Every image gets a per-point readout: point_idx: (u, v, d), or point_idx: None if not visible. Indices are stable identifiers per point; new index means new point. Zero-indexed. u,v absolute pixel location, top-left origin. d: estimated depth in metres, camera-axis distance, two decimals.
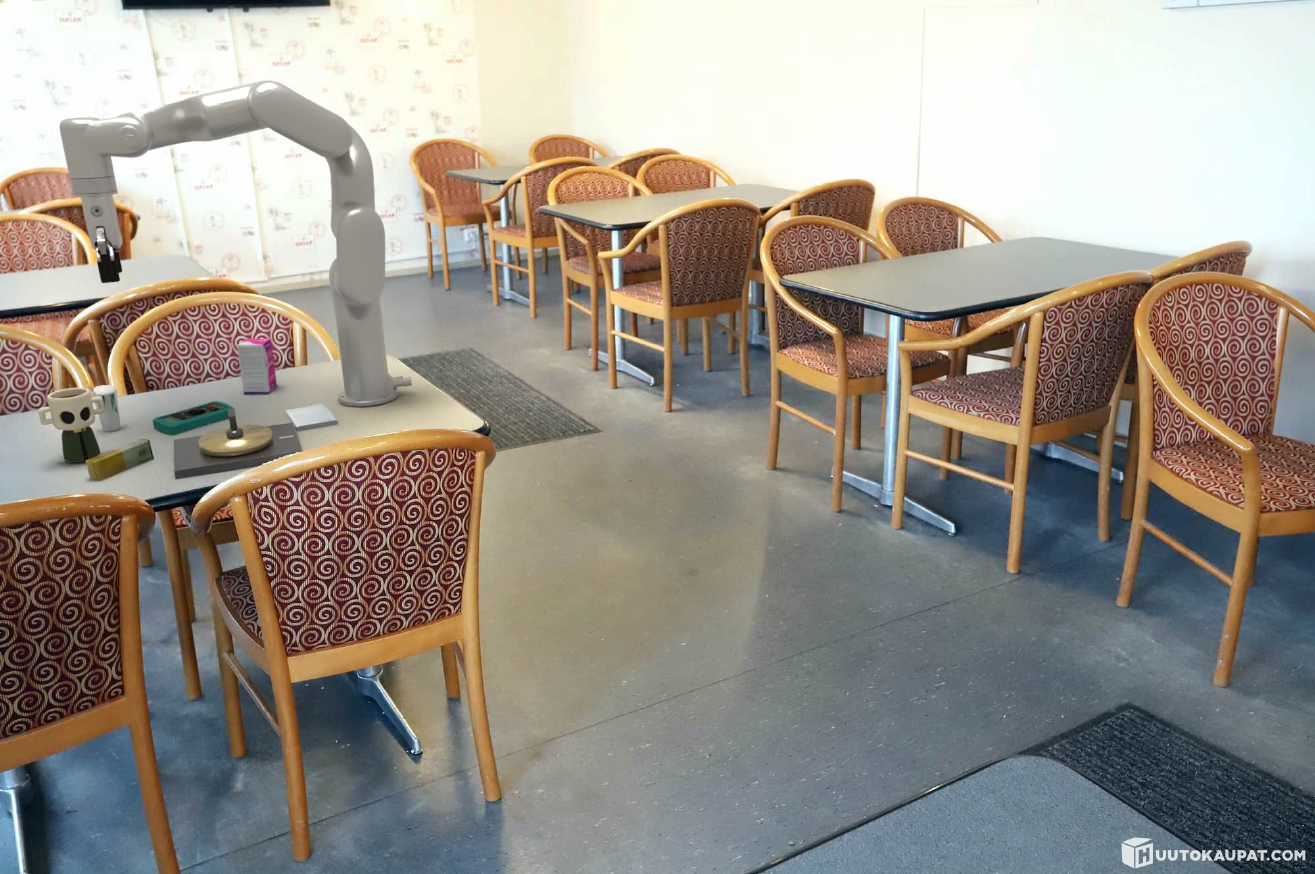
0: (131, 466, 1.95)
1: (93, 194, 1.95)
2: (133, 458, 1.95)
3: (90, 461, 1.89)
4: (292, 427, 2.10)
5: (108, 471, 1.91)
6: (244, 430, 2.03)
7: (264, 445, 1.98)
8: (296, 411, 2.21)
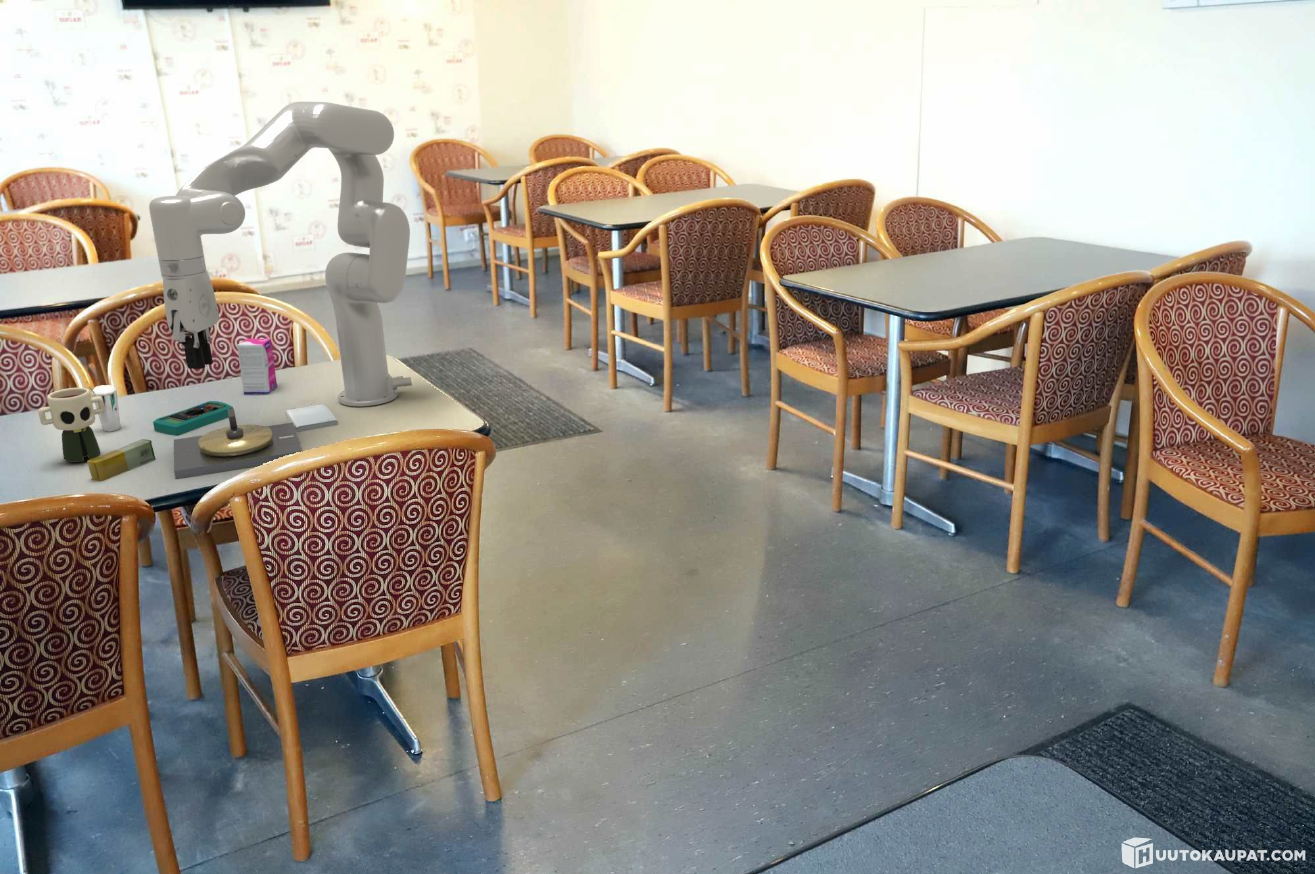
0: (133, 466, 1.95)
1: (172, 276, 1.86)
2: (134, 459, 1.95)
3: (92, 461, 1.88)
4: (292, 427, 2.10)
5: (110, 471, 1.91)
6: (244, 430, 2.03)
7: (264, 445, 1.98)
8: (296, 411, 2.21)
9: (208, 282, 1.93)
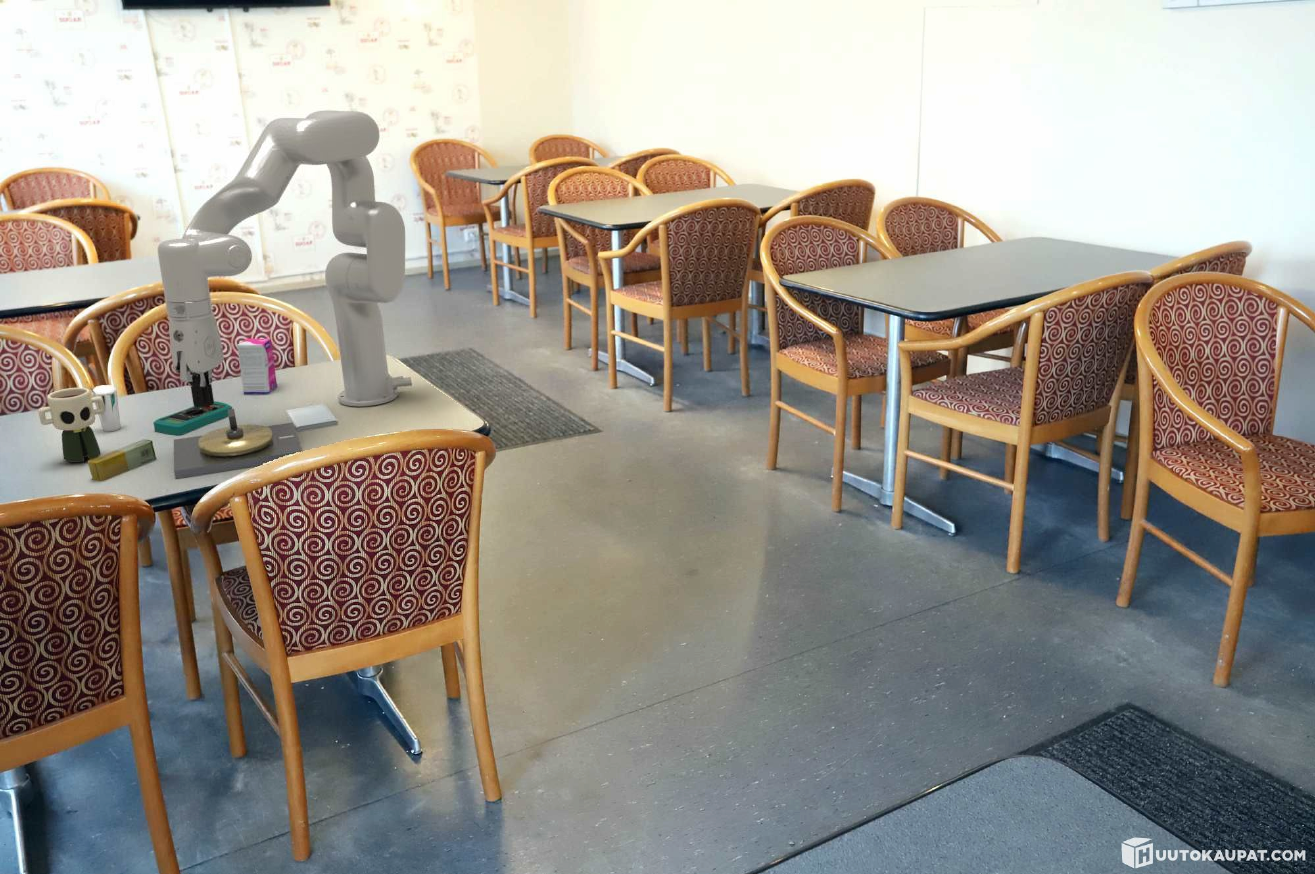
0: (133, 467, 1.95)
1: (179, 318, 1.89)
2: (135, 459, 1.95)
3: (92, 462, 1.88)
4: (292, 427, 2.10)
5: (111, 472, 1.90)
6: (244, 430, 2.03)
7: (264, 445, 1.98)
8: (296, 411, 2.21)
9: (214, 323, 1.96)
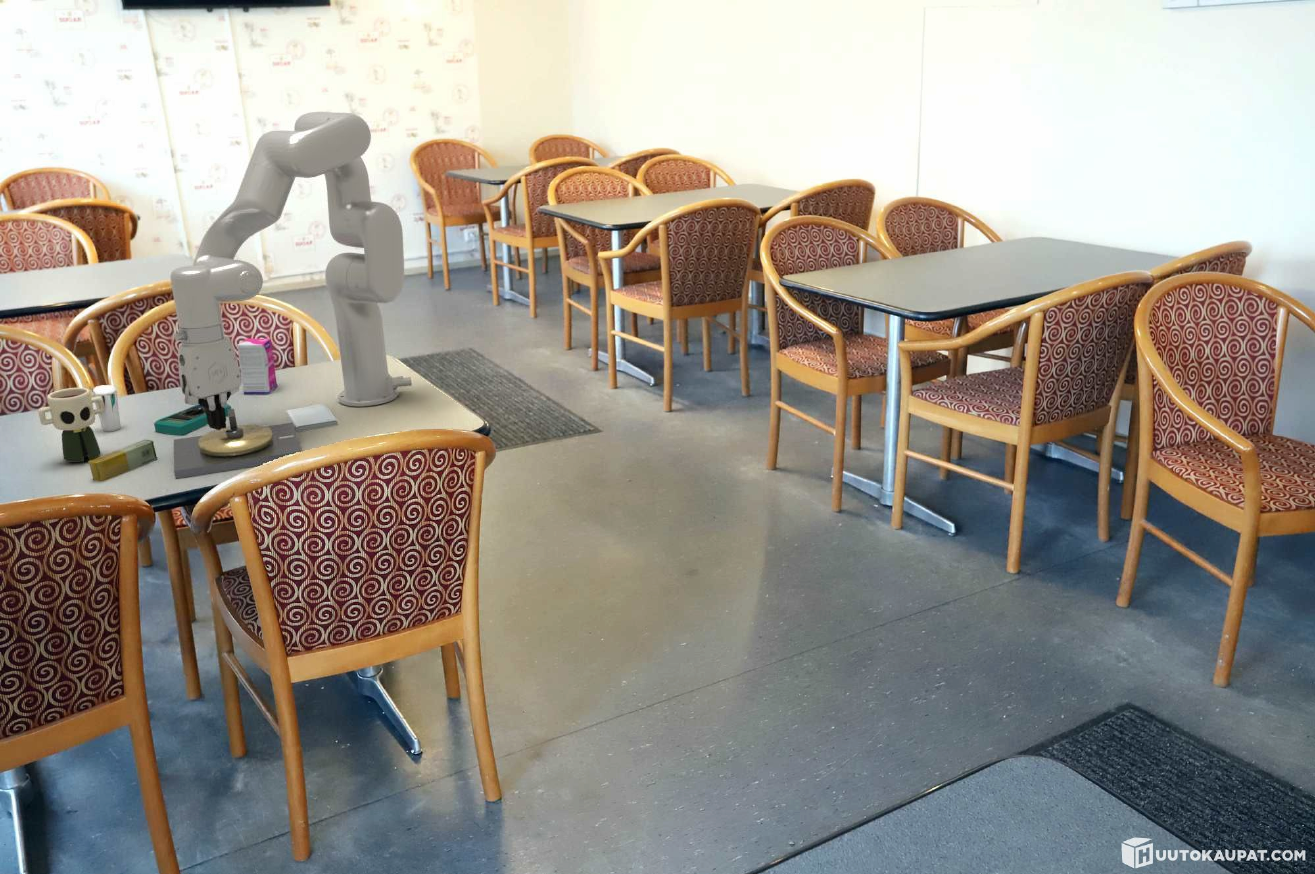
0: (134, 467, 1.94)
1: (184, 343, 1.93)
2: (136, 459, 1.95)
3: (93, 462, 1.88)
4: (292, 427, 2.10)
5: (111, 472, 1.90)
6: (244, 430, 2.03)
7: (264, 445, 1.98)
8: (296, 411, 2.21)
9: (227, 349, 1.98)
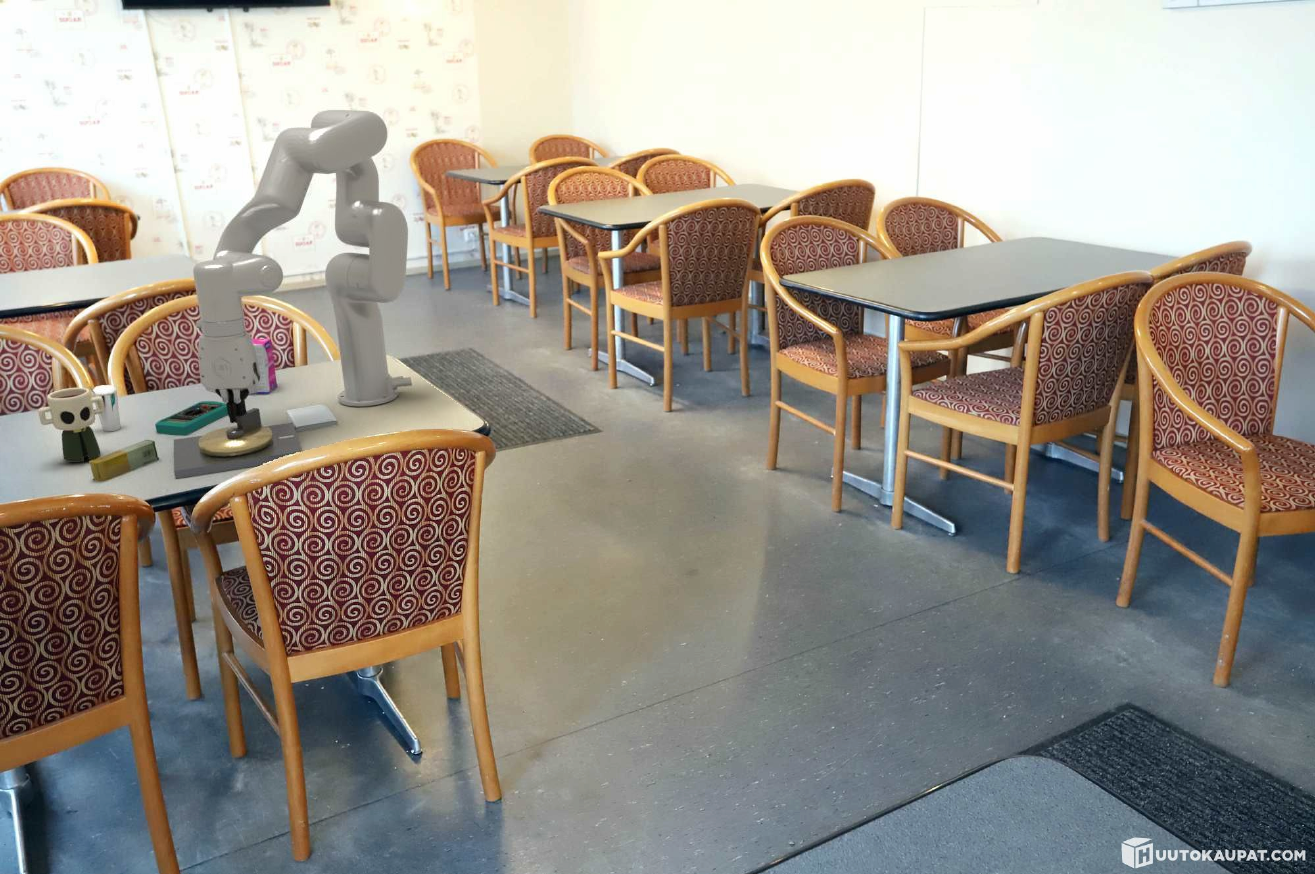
0: (135, 467, 1.94)
1: None
2: (137, 459, 1.94)
3: (93, 462, 1.88)
4: (292, 427, 2.10)
5: (112, 472, 1.90)
6: (253, 432, 2.02)
7: (239, 452, 1.95)
8: (296, 411, 2.21)
9: (234, 349, 1.96)
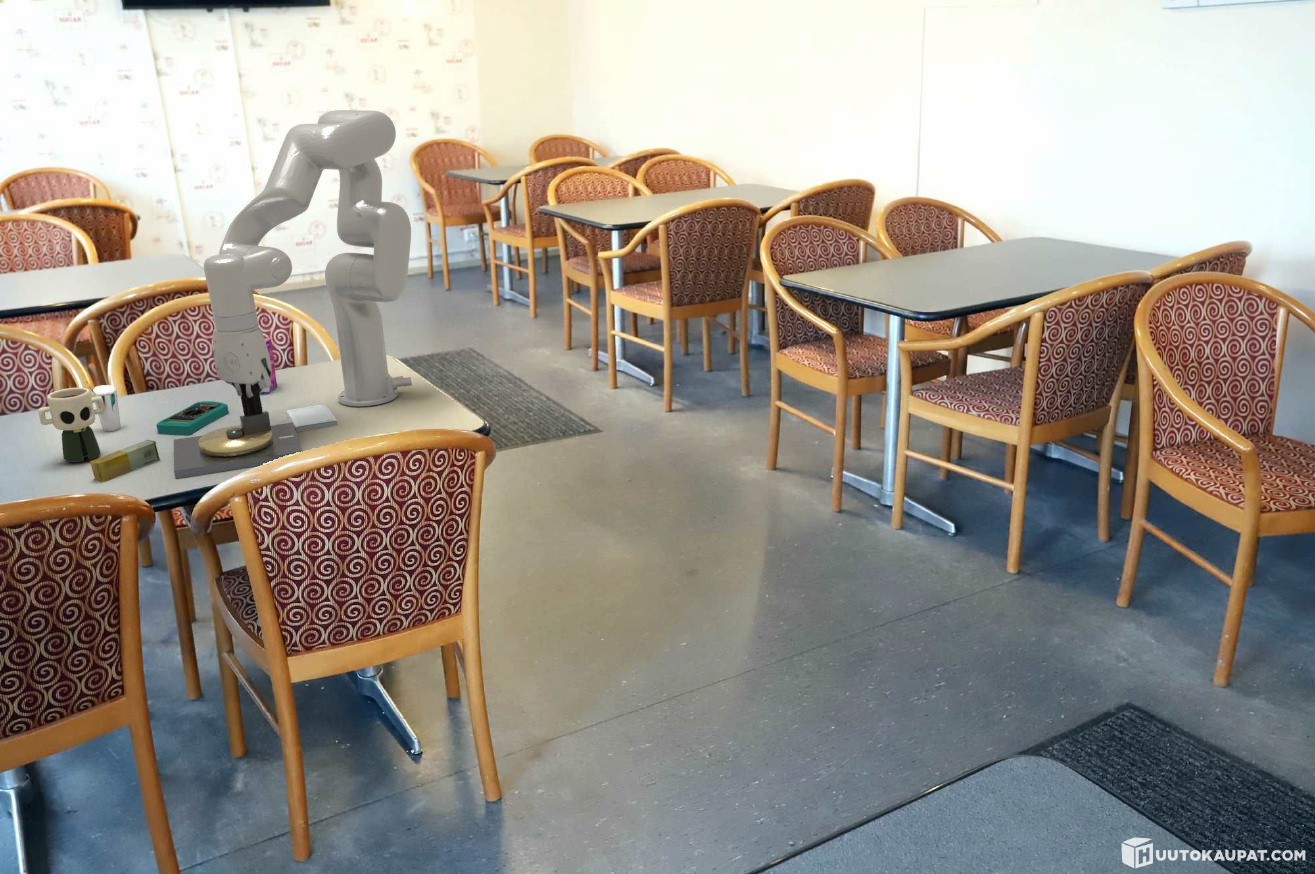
0: (136, 467, 1.94)
1: None
2: (138, 459, 1.94)
3: (94, 462, 1.88)
4: (292, 427, 2.10)
5: (113, 472, 1.90)
6: (252, 435, 2.00)
7: (218, 454, 1.94)
8: (296, 411, 2.21)
9: (241, 344, 1.95)
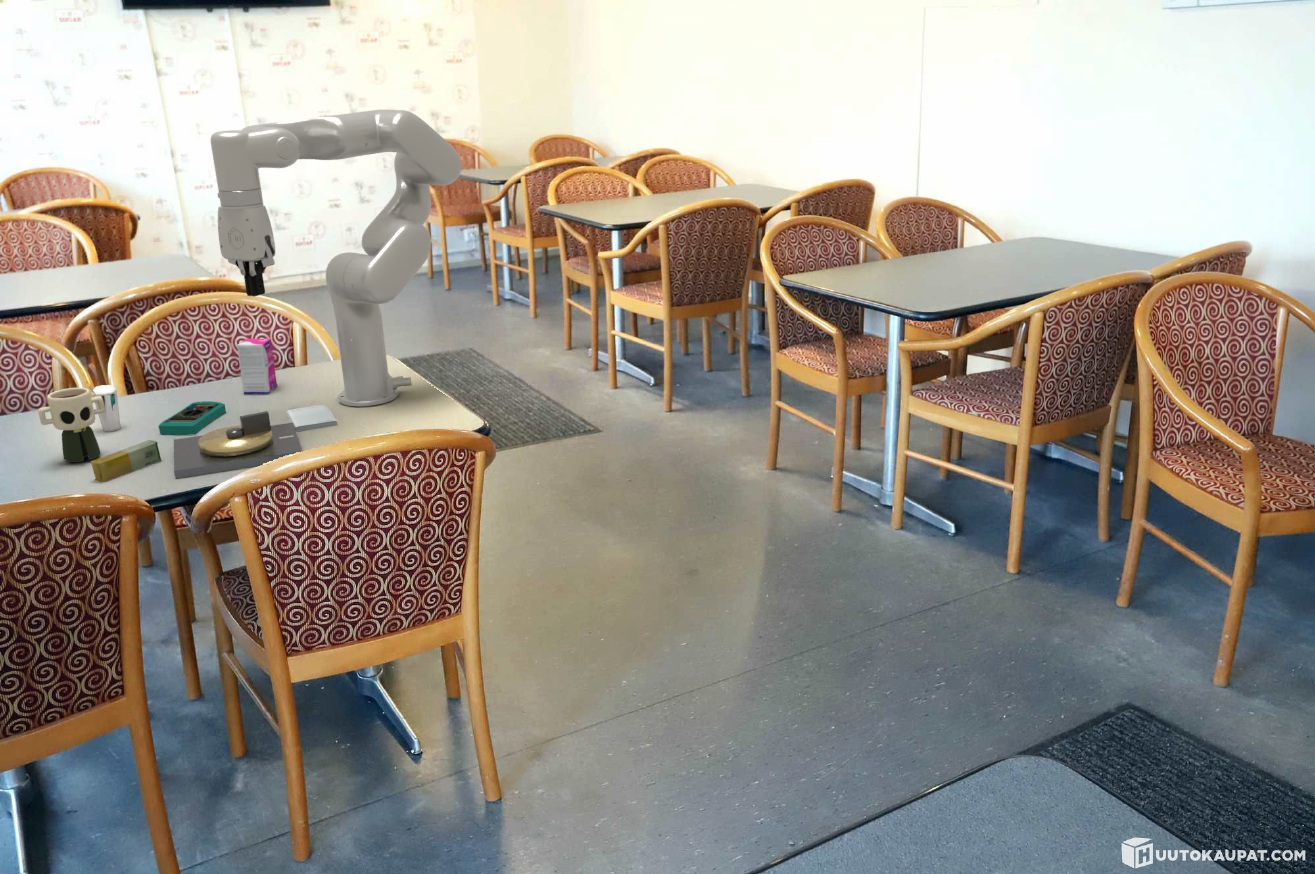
0: (137, 468, 1.94)
1: None
2: (139, 460, 1.94)
3: (95, 462, 1.88)
4: (292, 427, 2.10)
5: (113, 472, 1.90)
6: (252, 435, 2.00)
7: (218, 454, 1.94)
8: (296, 411, 2.21)
9: (245, 219, 1.97)
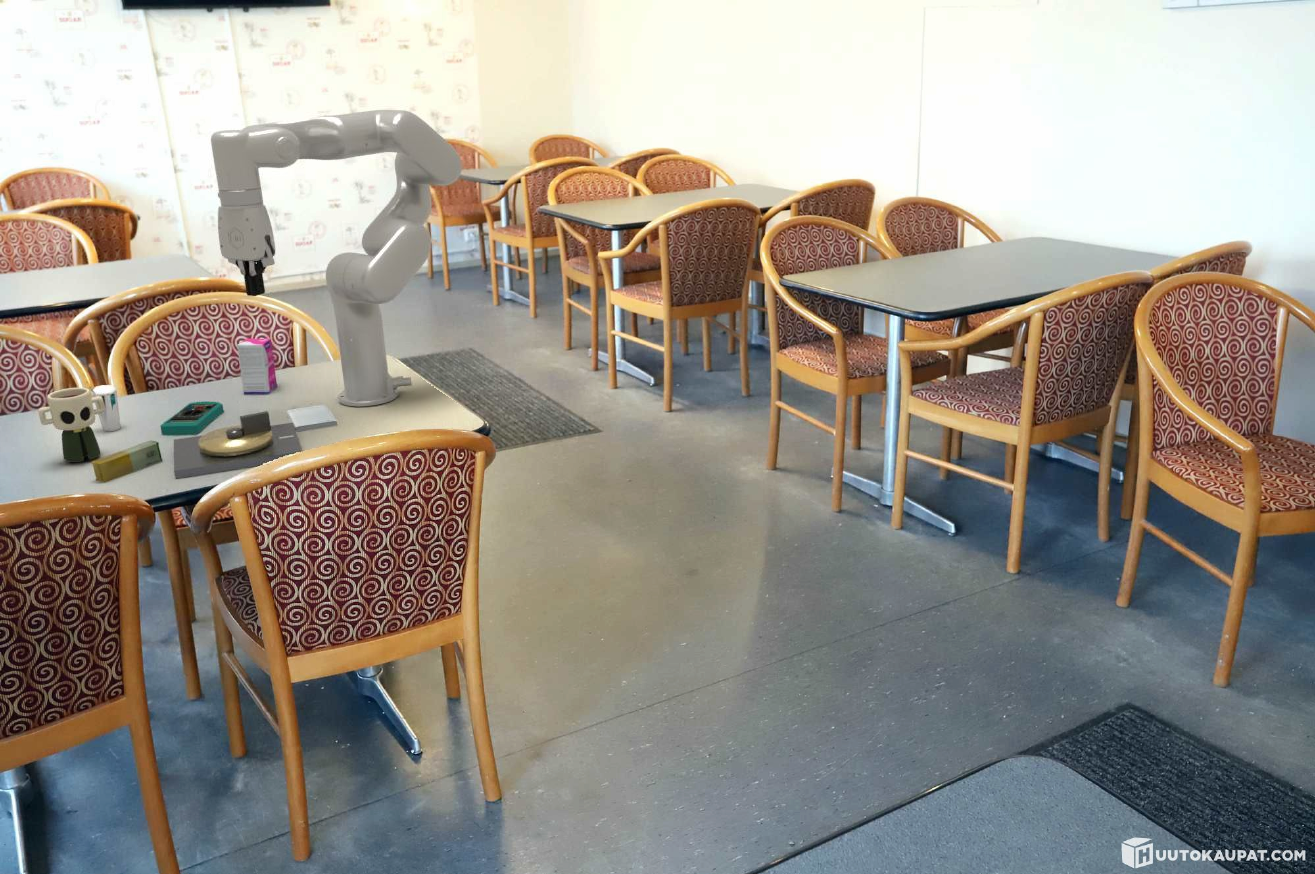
0: (138, 468, 1.94)
1: None
2: (140, 460, 1.94)
3: (96, 462, 1.88)
4: (292, 427, 2.10)
5: (114, 473, 1.90)
6: (252, 435, 2.00)
7: (218, 454, 1.94)
8: (296, 411, 2.21)
9: (245, 219, 1.97)
